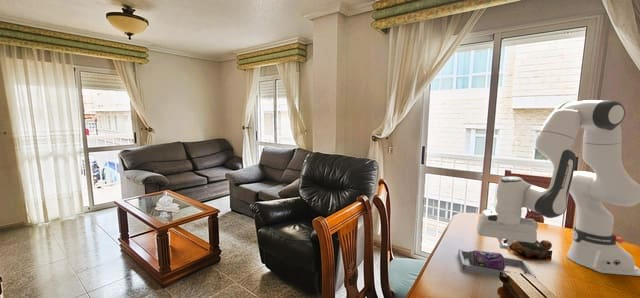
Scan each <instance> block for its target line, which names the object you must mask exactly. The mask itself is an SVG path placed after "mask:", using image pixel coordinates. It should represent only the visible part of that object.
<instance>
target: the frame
mask: <svg viewBox="0 0 640 298" xmlns="http://www.w3.org/2000/svg"><path fill="white" fill-rule="evenodd" d="M470 251H471V250H464V249H458V253H457V254H458V260H459V263H460V266H461V270H462V271H465V272H469V273H470V272H471V273H477V274H480V275H481V274H482V275H488V276H493V277H498V278H500V277H499V273H500V272H511V271H510V270H505V269H504V270H498V269H493V268H487V267H481V266H475V265H470V263H466V262H465V259H464V258H469V252H470ZM503 257H504V259H505V265H506V264H507V265H512V266H519V267H521V268H522V269H523V271H524V273H525V274H526V273H528V274H530V275H532V276H534V277H535V278H536V279H537V276H536V275H535V273H534V271H532V269H531V267H530V266H529V265H528V264H527V262H526V261H525V260H524V259H521V258H516V257H515V258H514V257H508V256H503ZM513 272H514V271H513ZM514 273H517V272H516V271H515V272H514Z"/></svg>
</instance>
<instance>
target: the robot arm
mask: <svg viewBox="0 0 640 298" xmlns="http://www.w3.org/2000/svg"><path fill="white" fill-rule="evenodd" d="M625 116H626V110H625V107H624V105H622V103H621V102H619V101H615V100H611V99H610V100H609V99H605V100H601V99H600V100H599V99H598V100H597V99H587V100H586V99H585V100H580V101H579V100H578V101H565V102H562V103H560V104H558V105H557V106H556V107H554V108H553V111H552V112H551V113H550V115H549V116H548V117H547V119H546V120H545V122H544V123H543V124H542V127H541V129H540V130H539V133H538V135H537V137H536V139H535V148H536V151H538V153H539V154H541V155H542V156H543V157H544V158H545V159H547V160H549V161H550V162H551V163H552V164H553V172H552V176H551V179H550V180H551V181H550V182H549V186H548V188H544V187H540V186H537V185H535V184H531V183H528V182H527V181H525V180H524V179H523V178H522V177H520V176H515V175H513V176H511V175H508V176H504V177H501V178H500V179H499V181H498V185H497V187H496V193H495V194H496V195H495V198H496V204H495V206H494V208H491V209H489V208H488V209H485V210H484V209H483V210H482V211H481V217H479V219H478V222H477V227H476V232H477V234H478V235H479V236H481V237H482V236H483V237H487V238H496V239H497V240H498V243H499V249H502V250H510V247H511V244H512V243H514V242H516V241H522V242H530V243H535V242H536V241H537V240H538V238H537V237H538V234H537V230H538V227H539V223H538V222H537V221H536V220H535V219H533V218H525V217H522V213H523V210H522V208H525V209H528V210H530V211H532V212H535V213H537V214H539V215H540V216H543V217H545V218H546V219H547V218H548V219H553V218H557V217H560V216H562V215H564V213H566V211H567V209H568V202H569V201H568V200H569V197H568V196H569V194H570V196H571V197H572V199H573V202H574V203H575V207H576V220H575V226H573V232H572V242H571V245H570V248H569V249H568V251H567V253H566V257H567V258H568V259H569V260H570V261H572V262H574V263H576V264H578V265H580V266H583V267H586V268H589V269H591V270H594V271H596V272H598V273H601V274H610V275H611V274H612V275H622V276H634V277H635V276H637V277H640V268H639V267H638V266H637V265H635V259H634V257H633V255H631V254H630V253H629V252H628V251H627V250H625V249H624V248H623V247H622V246H620V245H619V244H623V243H624V239H623V238H621V237H620V236H616V235H615V234H613V229H614V221H615V218H614V217H615V216H614V215H613V214H612V212H610V211H609V210H608V209H607V208H606V207H605V206H604V204H603V203H607V204H611V205H615V206H621V207H622V206H623V207H634V206H635V205H638V204H639V203H640V183H637V181H635V180H634V179H633V178H632V177H631V176H630V175H629V174H628V171H627V170H626V169H625V167H624V164H623V160H622V147H623V145H622V142H623V140H622V139H623V138H622V137H623V135H622V134H623V133H622V127H621V123H622V122H623V120H624V119H625ZM580 129H584V131H583V138H582V155H581V156H582V161H583V162H584V163H585V164H586V165H588V166H590V168H591V169H592V170H593V172H591V171H585V170H575V169H576V168H575V167H576V164H577V156H576V153H574V151H573V146H574V143H575V141H576V138H577V136H578V133H579V130H580ZM503 240H507V242H505V243H503ZM618 243H619V244H618Z"/></svg>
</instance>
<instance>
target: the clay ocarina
mask: <svg viewBox="0 0 640 298" xmlns="http://www.w3.org/2000/svg"><path fill="white" fill-rule="evenodd" d="M510 247H511V249H512V250H515V251H522V252H523V253H524V254H525V256H526V257H527V258H531V257H533V256H536V258H537V259H539V260H542V259H543V258H544V257H545V254H546V252H548V251H550V250H551V249H552V247H553V245H552V242H551V241H549V240H546V239H542V240H540V241H538V239H537V241H536V242H535V243H530V242H522V241H513V243H512V244H511V245H510Z"/></svg>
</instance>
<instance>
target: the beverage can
mask: <svg viewBox="0 0 640 298" xmlns="http://www.w3.org/2000/svg"><path fill="white" fill-rule="evenodd" d="M469 251H470V252H469V257H468V261H469V263H468V264H469V265H475V266H481V267H487V268H493V269H498V270H504V271H505V269H506V263H505V259H504V257H505V256H503V254H502V253H500V252H490V251H485V250H484V251H483V250H475V249H474V250H469Z"/></svg>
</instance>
